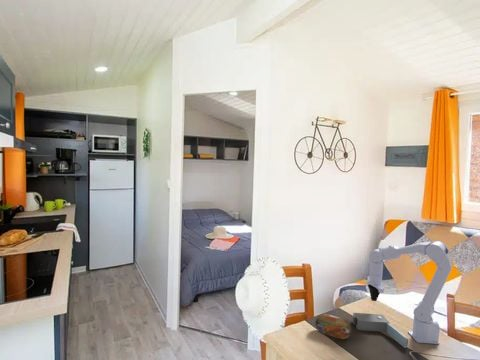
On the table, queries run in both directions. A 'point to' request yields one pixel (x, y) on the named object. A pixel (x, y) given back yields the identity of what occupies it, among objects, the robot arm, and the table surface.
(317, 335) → the table surface
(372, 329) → the camcorder
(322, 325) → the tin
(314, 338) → the table surface
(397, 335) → the side door
